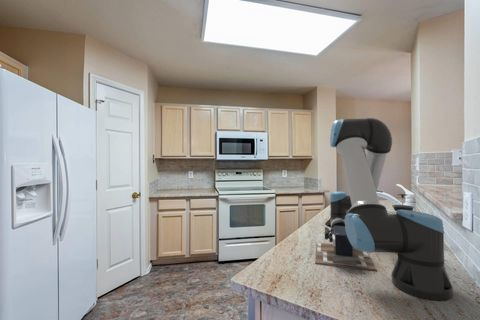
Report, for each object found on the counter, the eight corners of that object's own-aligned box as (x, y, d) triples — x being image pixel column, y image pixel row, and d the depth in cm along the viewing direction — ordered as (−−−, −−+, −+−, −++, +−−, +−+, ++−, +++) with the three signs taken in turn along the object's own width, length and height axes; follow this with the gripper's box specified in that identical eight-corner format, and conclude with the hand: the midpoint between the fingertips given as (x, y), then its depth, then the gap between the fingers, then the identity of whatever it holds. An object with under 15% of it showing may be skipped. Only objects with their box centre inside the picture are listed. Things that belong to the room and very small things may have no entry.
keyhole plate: (376, 271, 85) (376, 261, 85) (315, 263, 92) (315, 254, 92) (365, 248, 107) (364, 240, 107) (316, 243, 114) (316, 236, 114)
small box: (353, 262, 89) (352, 235, 89) (335, 261, 91) (334, 234, 91) (350, 250, 99) (349, 225, 99) (333, 249, 101) (332, 225, 101)
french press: (388, 239, 119) (387, 194, 119) (393, 235, 125) (392, 192, 126) (417, 245, 110) (416, 196, 111) (421, 240, 117) (420, 194, 117)
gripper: (362, 237, 108) (373, 256, 86) (318, 233, 114) (317, 250, 92) (362, 221, 108) (372, 236, 86) (318, 218, 114) (317, 231, 92)
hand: (344, 243), depth 89 cm, fingers closed on small box, 6 cm apart
